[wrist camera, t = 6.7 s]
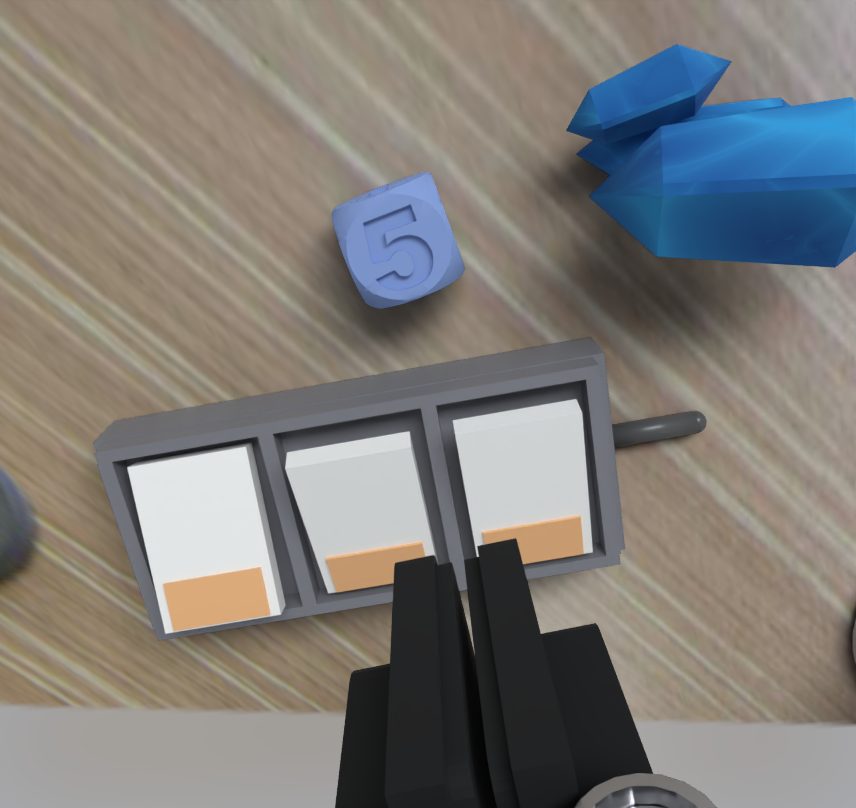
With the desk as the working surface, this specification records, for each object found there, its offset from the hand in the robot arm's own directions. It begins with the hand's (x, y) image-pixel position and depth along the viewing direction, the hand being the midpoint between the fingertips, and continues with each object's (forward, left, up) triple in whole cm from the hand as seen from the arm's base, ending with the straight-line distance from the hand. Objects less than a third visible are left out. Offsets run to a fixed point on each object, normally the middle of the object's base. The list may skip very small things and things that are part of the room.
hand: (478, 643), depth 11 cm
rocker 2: (-6, +5, -20) cm, 22 cm away
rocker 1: (+5, +12, -20) cm, 24 cm away
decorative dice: (+2, -2, -24) cm, 24 cm away
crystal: (-8, -9, -24) cm, 27 cm away
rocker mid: (0, +9, -20) cm, 22 cm away
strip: (-2, +8, -24) cm, 25 cm away
